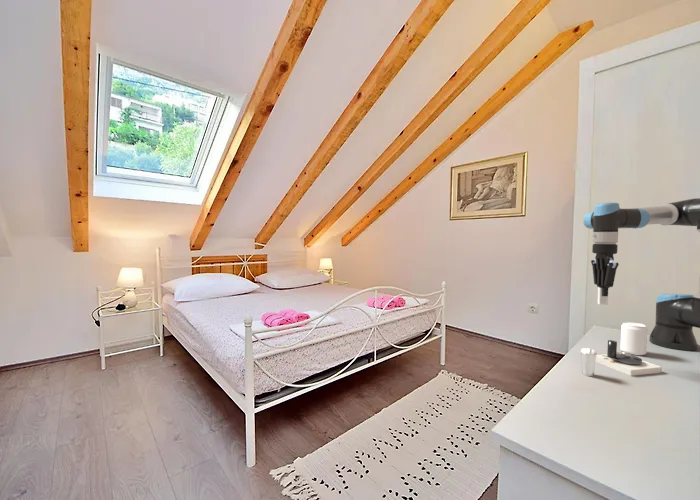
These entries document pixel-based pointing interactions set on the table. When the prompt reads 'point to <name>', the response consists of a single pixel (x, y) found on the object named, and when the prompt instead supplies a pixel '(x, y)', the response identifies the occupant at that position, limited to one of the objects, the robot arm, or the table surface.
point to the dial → (621, 355)
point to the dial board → (629, 366)
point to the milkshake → (588, 361)
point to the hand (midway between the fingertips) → (602, 304)
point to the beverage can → (633, 338)
